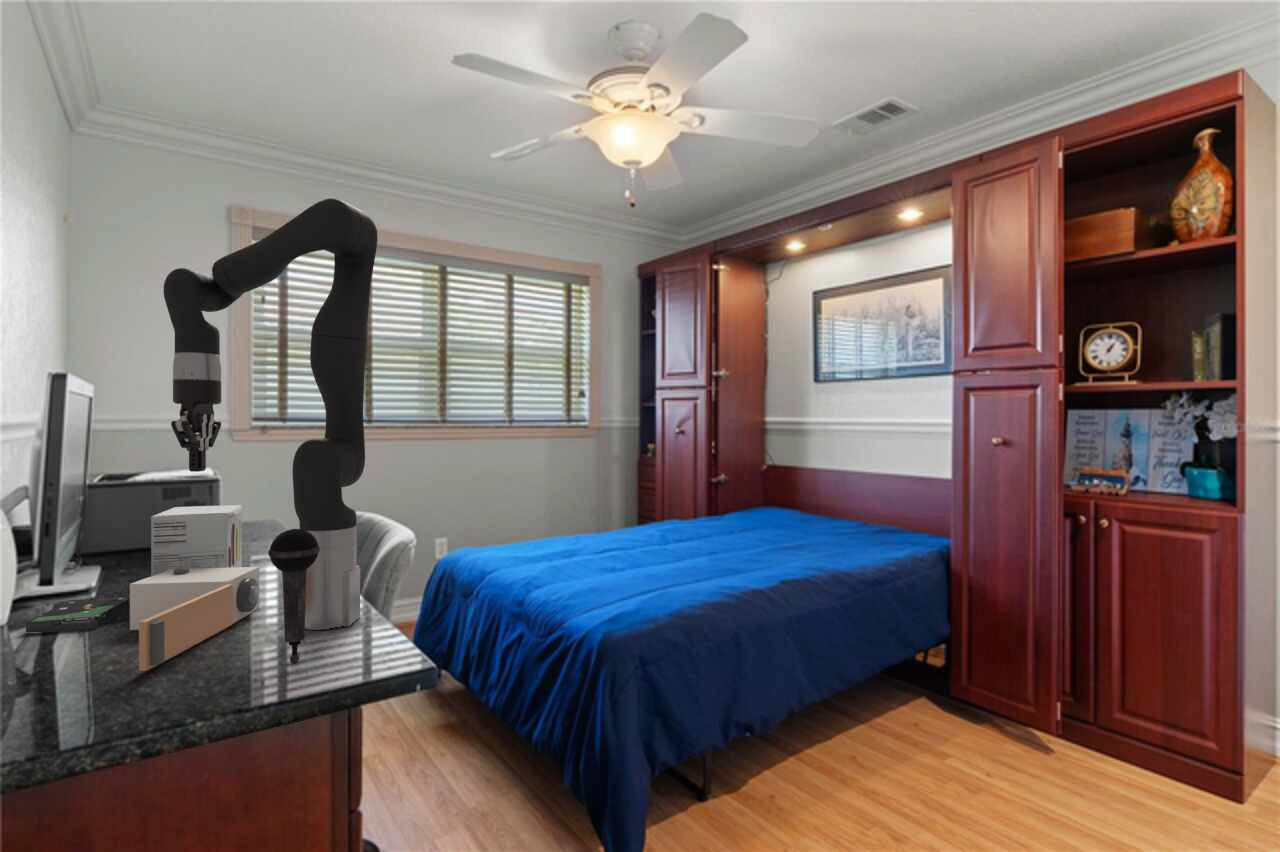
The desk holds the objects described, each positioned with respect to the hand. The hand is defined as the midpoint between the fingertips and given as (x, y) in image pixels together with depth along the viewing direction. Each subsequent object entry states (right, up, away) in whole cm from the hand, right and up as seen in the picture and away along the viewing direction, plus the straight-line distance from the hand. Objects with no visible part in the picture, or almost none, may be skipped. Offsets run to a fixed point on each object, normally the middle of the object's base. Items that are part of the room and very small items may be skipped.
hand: (197, 471), depth 122 cm
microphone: (+31, -27, -24) cm, 48 cm away
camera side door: (+12, -26, -18) cm, 34 cm away
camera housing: (+1, -27, -2) cm, 27 cm away
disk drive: (-20, -28, -2) cm, 34 cm away
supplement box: (-10, -27, +15) cm, 33 cm away
